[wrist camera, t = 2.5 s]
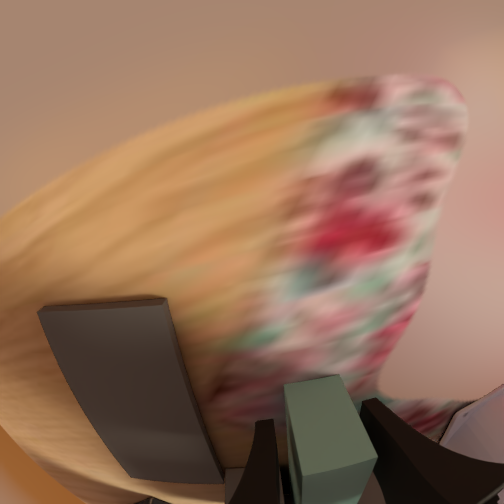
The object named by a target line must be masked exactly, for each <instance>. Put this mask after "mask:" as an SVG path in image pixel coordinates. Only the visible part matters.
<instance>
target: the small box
mask: <svg viewBox="0 0 504 504" xmlns="http://www.w3.org/2000/svg"><path fill="white" fill-rule="evenodd" d="M136 504H168V503H166V502H163V501H161V500H158V499H155V498H149V499H146V500H144V501H142V502H139V503H136Z"/></svg>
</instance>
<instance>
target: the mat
mask: <svg viewBox="0 0 504 504" xmlns="http://www.w3.org/2000/svg"><path fill="white" fill-rule="evenodd" d="M37 314H38V316H39V319H40V322H41V325H42V327H43V330H44V332H45V335H46V337H47V340H48V342H49V344H50V347H51V349H52V351H53V354H54V356H55V358H56V360H57V362H58V365H59V367H60V369H61V371H62V373H63V375H64V377H65V379H66V381H67V383H68V385H69V386H70V388H71V390H72V392H73V394H74V396H75V397H76V399H77V401H78V403H79V404H80V406H81V408H82V410H83V411H84V413H85V414H86V416H87V418H88V419H89V421H90V422H91V424H92V426H93V427H94V429H95V430H96V432H97V433H98V435H99V436H100V438H101V439H102V440H103V442H104V443H105V445H106V446H107V448H108V449H109V450H110V452H111V453H112V454H113V456H114V457H115V458H116V460H117V461H118V462H119V463H120V465H121V466H122V467H123V469H124V470H125V471H126V472H127V473H128V475H129V476H130V477H131V478H138V479H145V480H152V481H161V482H173V483H189V484H224V478H225V476H224V474H223V472H222V469H221V467H220V465H219V462H218V460H217V457H216V455H215V452H214V450H213V447H212V445H211V442H210V439H209V437H208V434H207V432H206V429H205V426H204V423H203V421H202V418H201V415H200V412H199V409H198V406H197V403H196V401H195V398H194V394H193V391H192V388H191V385H190V382H189V379H188V376H187V372H186V369H185V366H184V362H183V359H182V356H181V352H180V349H179V345H178V341H177V338H176V334H175V330H174V326H173V322H172V318H171V314H170V310H169V306H168V302H167V298H161V299H150V300H138V301H125V302H112V303H97V304H81V305H62V306H44V307H43V308H41V309H40V310H39V311H37Z"/></svg>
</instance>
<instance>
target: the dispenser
mask: <svg viewBox="0 0 504 504" xmlns="http://www.w3.org/2000/svg"><path fill="white" fill-rule="evenodd" d="M244 470H245V468H231V469H226V476H225V504H228V503H229V502H230V500H231V498H232V496H233V494H234V492H235V490H236V488H237V486H238V484H239V482H240V480H241V477H242V475H243V472H244ZM279 481H280V504H293V502H292V496H291V494H286V495H283V490H282V482H281V475H280V468H279ZM357 504H386V503H385V500H384V497H383V493H382V490H381V488H380V485H379V483H378V481H377V479H376V477H375V475H374V473H373V470H372V473H371V475H370V477H369V480H368V482H367V484H366V486H365V489H364V491H363V493H362V495H361V497H360V499H359V501H358V503H357Z"/></svg>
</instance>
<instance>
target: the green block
mask: <svg viewBox="0 0 504 504" xmlns="http://www.w3.org/2000/svg"><path fill="white" fill-rule="evenodd" d="M284 397H285V412H286V427H287V443H288V460H289V479H290V490H291V496H292V502H293V504H357V503H358V501H359V499H360V497H361V495H362V493H363V491H364V489H365V486H366V484H367V482H368V480H369V477H370V475H371V473H372V470H373V468H374V465H375V463H376V461H377V458H378V456H377V454H376V451H375V449H374V447H373V445H372V443H371V441H370V438H369V436H368V434H367V432H366V430H365V428H364V425H363V423H362V421H361V419H360V417H359V415H358V413H357V411H356V409H355V406H354V404H353V402H352V400H351V398H350V396H349V394H348V392H347V390H346V388H345V386H344V383H343V381H342V379H341V377H340V375H334V376H329V377H324V378H319V379H314V380H308V381H303V382H297V383H290V384H284Z"/></svg>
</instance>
